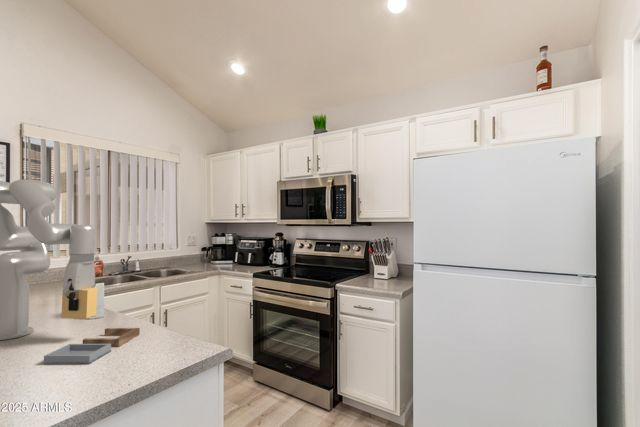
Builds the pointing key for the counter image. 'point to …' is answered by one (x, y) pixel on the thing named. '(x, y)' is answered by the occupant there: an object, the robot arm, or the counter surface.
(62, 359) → the grey tray
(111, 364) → the counter surface
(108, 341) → the walnut bay
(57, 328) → the counter surface
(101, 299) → the skincare box
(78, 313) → the yellow block
